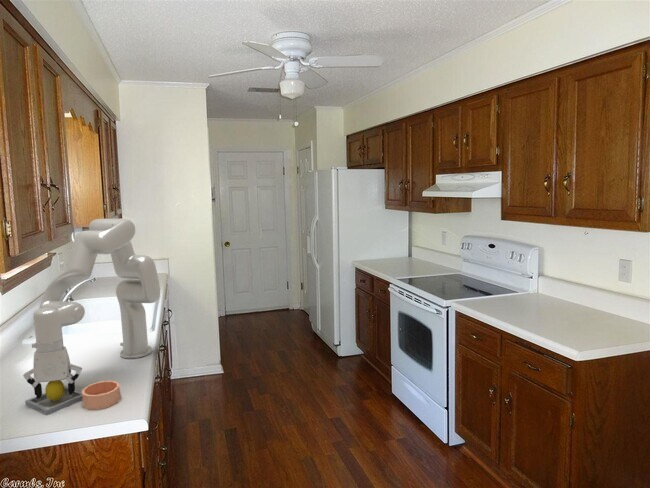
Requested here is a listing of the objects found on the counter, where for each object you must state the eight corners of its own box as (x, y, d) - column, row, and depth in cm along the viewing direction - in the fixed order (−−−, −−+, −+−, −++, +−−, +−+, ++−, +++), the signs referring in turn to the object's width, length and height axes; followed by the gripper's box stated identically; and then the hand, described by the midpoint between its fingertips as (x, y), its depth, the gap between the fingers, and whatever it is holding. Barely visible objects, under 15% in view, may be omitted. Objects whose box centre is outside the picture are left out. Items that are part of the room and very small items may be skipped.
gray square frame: (25, 405, 155) (25, 400, 155) (64, 389, 166) (64, 385, 166) (46, 415, 148) (46, 410, 148) (86, 398, 159) (86, 394, 159)
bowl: (76, 404, 155) (74, 391, 154) (107, 390, 164) (106, 378, 164) (96, 412, 149) (94, 399, 149) (127, 398, 159) (126, 385, 158)
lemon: (48, 399, 158) (45, 377, 157) (66, 396, 161) (64, 374, 159) (45, 407, 153) (43, 383, 152) (65, 403, 156) (62, 380, 154)
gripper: (15, 352, 149) (22, 403, 151) (75, 347, 152) (80, 397, 155) (25, 344, 156) (31, 393, 158) (82, 339, 160) (86, 387, 162)
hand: (55, 395), depth 157 cm, fingers open, 9 cm apart
